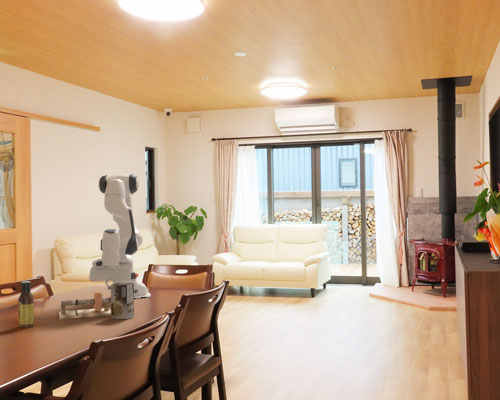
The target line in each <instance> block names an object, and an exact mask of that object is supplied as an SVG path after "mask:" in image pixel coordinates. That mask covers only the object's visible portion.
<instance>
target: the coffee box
mask: <svg viewBox="0 0 500 400" xmlns="http://www.w3.org/2000/svg"><path fill="white" fill-rule="evenodd" d="M110 286H111V290H110V311H111V315H110V319H116V320H117V319H119V320H129V319H132V318H135V299H134V283H114V284H113V283H111V284H110Z"/></svg>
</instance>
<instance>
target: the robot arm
mask: <svg viewBox="0 0 500 400" xmlns="http://www.w3.org/2000/svg"><path fill="white" fill-rule="evenodd" d="M139 186H140V180H139V177H138V176H137V175H136V174H133V173H132V174H131V173H130V174H128V173H127V174H126V173H118V174H110V175H107V174H105V175H102V176H101V177H100V178H99V181H98V188H99V191H100V192H101V193H102V194H104V202H103V203H104V209H105V210H106V212H108V213H109V214H111V215H112V218H113V219H112V220H113V221H114V222H115V223H116V224H117V227H118V228H117V229H116V228H113V229H111V228H110V229H105V230H103V234H102V238H101V240H100V251H102V253H101V258H99V259H95V260H93V261H92V262H91V263H92V264H91V265H92V266H91V268H90V269H89V276H88V280H89V281H91V282H104V283H105V285H106V290H107V291H111V285H109V281H110V282H112V284H114V283H134V298H136V299H142V298H141V297H146V298H150V297H151V296H152V295H151V293H150V292H148V290H147V287H146V285H145V283H143V281H141V280H139V279H138V277H139V273H137V272H134V258H133V257H132V256H133V255H135V254H136V252H138V249H139V248H140V247H141V245H143V241H144V236H143V234H142V232H141V231H139V229H138V228H137V226H136V224H135V221H134V214H133V199H132V196H133V195H134V194H135V193H137V192H138V190H139Z"/></svg>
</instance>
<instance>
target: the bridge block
mask: <svg viewBox="0 0 500 400" xmlns="http://www.w3.org/2000/svg"><path fill="white" fill-rule="evenodd" d="M102 298H103V294H102V292H101V291H94V292H93V299H95V304H93V309H95V311H102V308H103V303H102Z"/></svg>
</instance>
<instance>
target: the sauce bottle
mask: <svg viewBox="0 0 500 400" xmlns="http://www.w3.org/2000/svg"><path fill="white" fill-rule="evenodd" d="M31 285H32V281H31V280H30V281H29V280H23V281H20V287H21V289H20V290H21V291H20V295H19V297H18V300H17V303H18V304H17V305H18V307H17V308H18V309H17V312H18V320H17V321H18V327H19V328H21V329H26V328H28V329H29V328H31V327H34V325H35V324H34V322H35V314H34V313H35V307H34V306H35V303H34V295H33V294H32V292H31V291H32V290H31Z"/></svg>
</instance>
